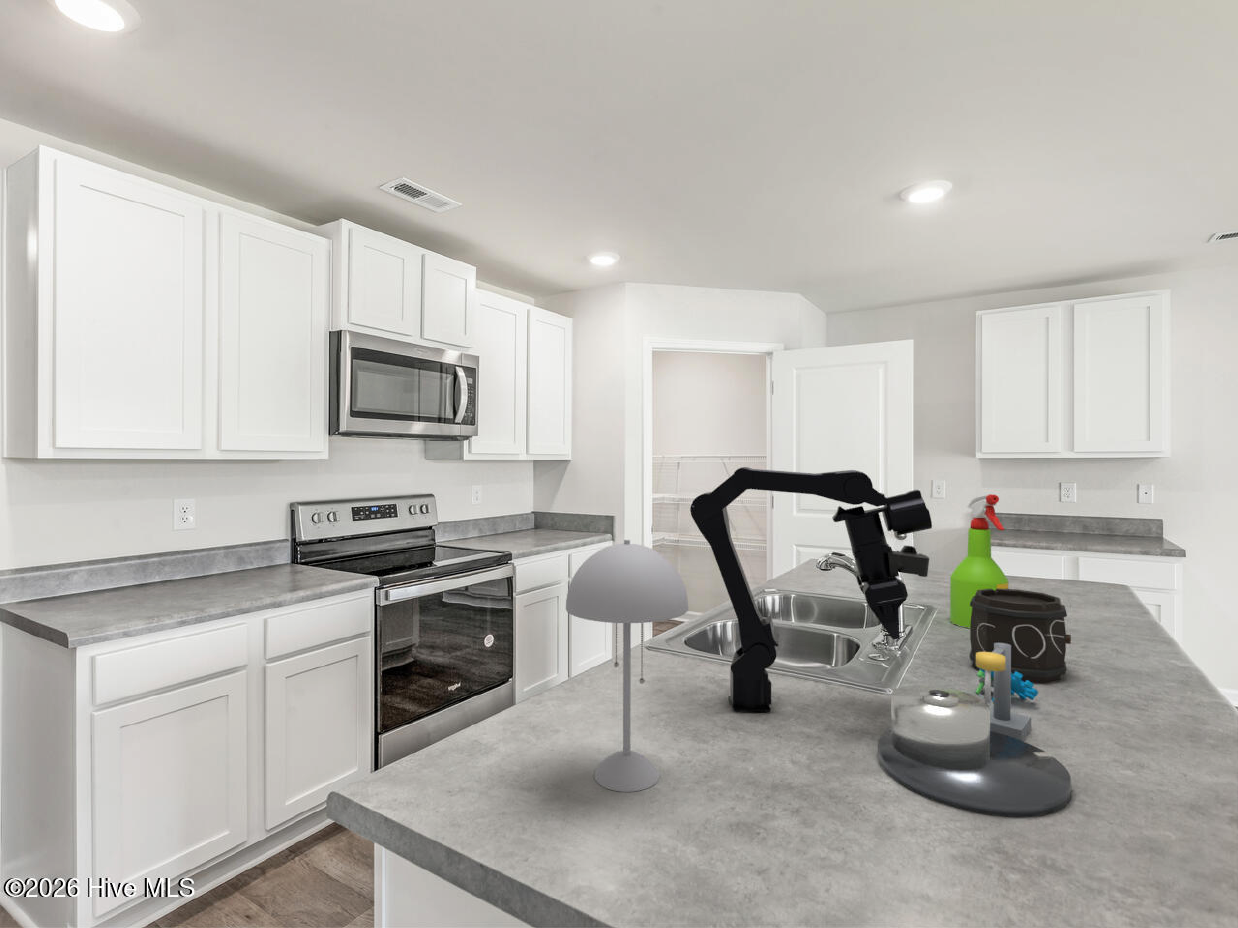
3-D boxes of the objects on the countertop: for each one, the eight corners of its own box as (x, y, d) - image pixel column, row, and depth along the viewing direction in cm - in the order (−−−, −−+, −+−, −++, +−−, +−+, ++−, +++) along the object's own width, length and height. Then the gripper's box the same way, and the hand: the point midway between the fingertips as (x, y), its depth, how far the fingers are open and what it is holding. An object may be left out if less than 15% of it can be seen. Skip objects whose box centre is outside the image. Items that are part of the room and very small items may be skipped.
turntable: (921, 815, 82) (922, 796, 82) (854, 734, 106) (855, 719, 106) (1116, 817, 82) (1116, 797, 82) (1004, 735, 106) (1005, 720, 106)
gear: (1051, 698, 118) (1016, 661, 116) (1036, 726, 116) (999, 688, 115) (1000, 686, 128) (967, 652, 127) (985, 711, 126) (951, 676, 125)
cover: (913, 768, 90) (914, 709, 90) (877, 729, 103) (877, 677, 103) (1009, 769, 90) (1009, 710, 90) (960, 729, 103) (961, 678, 103)
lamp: (572, 747, 101) (572, 532, 101) (683, 749, 101) (684, 533, 100) (558, 806, 84) (558, 548, 84) (692, 808, 84) (693, 549, 83)
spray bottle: (975, 635, 165) (976, 495, 164) (940, 617, 183) (941, 491, 182) (1030, 635, 165) (1031, 495, 164) (990, 618, 183) (991, 491, 182)
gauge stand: (983, 717, 113) (984, 636, 113) (1031, 729, 108) (1031, 644, 108) (961, 742, 103) (962, 653, 103) (1012, 755, 99) (1013, 662, 99)
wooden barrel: (1073, 692, 125) (1074, 609, 125) (966, 675, 135) (967, 598, 135) (1068, 666, 141) (1069, 593, 141) (973, 653, 150) (973, 584, 150)
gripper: (928, 538, 102) (955, 637, 101) (908, 525, 120) (931, 610, 119) (854, 553, 105) (880, 650, 104) (845, 539, 123) (867, 621, 122)
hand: (892, 631), depth 112 cm, fingers open, 9 cm apart
